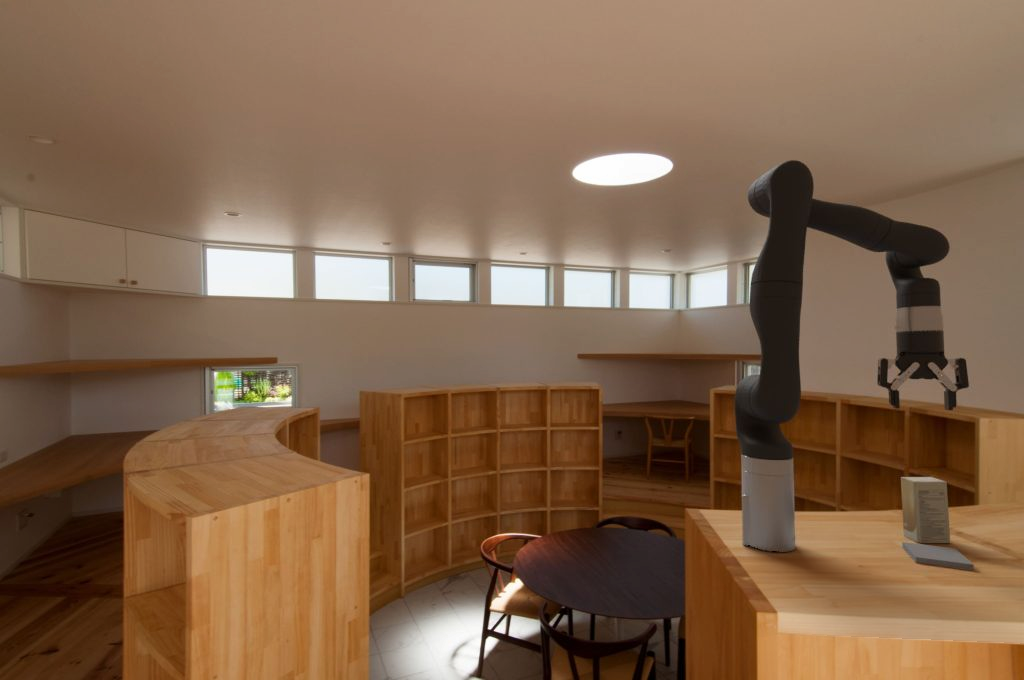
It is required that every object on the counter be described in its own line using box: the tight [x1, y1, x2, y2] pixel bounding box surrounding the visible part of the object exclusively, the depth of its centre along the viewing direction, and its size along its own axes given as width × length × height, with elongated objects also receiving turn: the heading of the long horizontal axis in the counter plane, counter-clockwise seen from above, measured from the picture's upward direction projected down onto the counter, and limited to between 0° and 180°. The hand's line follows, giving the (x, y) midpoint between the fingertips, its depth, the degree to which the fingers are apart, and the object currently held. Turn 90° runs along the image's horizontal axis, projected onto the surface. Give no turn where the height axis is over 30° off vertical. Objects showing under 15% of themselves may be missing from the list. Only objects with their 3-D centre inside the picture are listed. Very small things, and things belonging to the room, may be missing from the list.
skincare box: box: [900, 476, 951, 544], centre depth 100 cm, size 6×4×12 cm
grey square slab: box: [901, 541, 975, 571], centre depth 90 cm, size 8×8×1 cm
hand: (922, 409), depth 100 cm, fingers open, 8 cm apart
